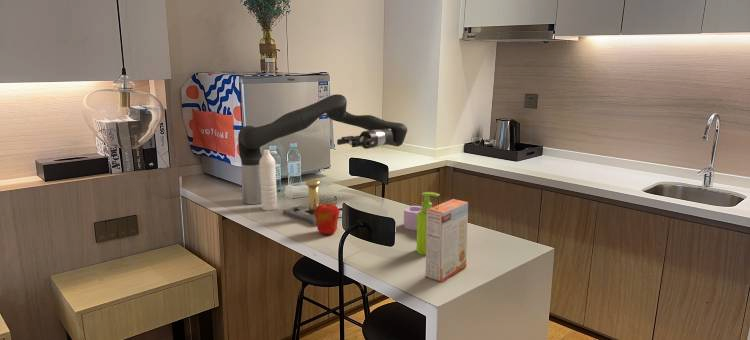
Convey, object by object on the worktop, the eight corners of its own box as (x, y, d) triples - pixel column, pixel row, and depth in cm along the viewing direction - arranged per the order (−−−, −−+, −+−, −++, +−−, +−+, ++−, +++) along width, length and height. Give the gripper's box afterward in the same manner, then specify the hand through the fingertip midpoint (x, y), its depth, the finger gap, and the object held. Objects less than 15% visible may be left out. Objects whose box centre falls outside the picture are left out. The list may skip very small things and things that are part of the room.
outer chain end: (297, 218, 199) (296, 209, 198) (314, 213, 205) (314, 204, 204) (318, 226, 190) (318, 217, 189) (336, 220, 197) (336, 211, 196)
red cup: (310, 234, 181) (310, 203, 179) (323, 227, 189) (323, 197, 186) (331, 238, 177) (330, 206, 175) (343, 231, 185) (343, 200, 182)
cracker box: (450, 262, 157) (452, 197, 153) (466, 267, 153) (469, 201, 149) (423, 276, 147) (425, 208, 142) (441, 283, 143) (443, 212, 138)
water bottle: (258, 208, 212) (255, 150, 206) (270, 205, 216) (267, 147, 211) (272, 212, 206) (269, 152, 201) (284, 208, 211) (281, 150, 206)
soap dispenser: (436, 255, 163) (438, 195, 158) (415, 253, 164) (416, 194, 159) (438, 248, 168) (440, 191, 164) (417, 247, 169) (418, 189, 165)
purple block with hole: (397, 229, 188) (397, 211, 186) (415, 220, 197) (416, 203, 196) (443, 241, 176) (444, 222, 174) (461, 231, 185) (462, 213, 184)
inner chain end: (283, 213, 205) (283, 208, 204) (300, 208, 211) (300, 204, 211) (313, 224, 192) (313, 219, 192) (331, 218, 199) (330, 213, 198)
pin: (304, 218, 199) (302, 181, 195) (315, 215, 203) (314, 178, 199) (313, 221, 195) (312, 183, 192) (324, 218, 199) (323, 181, 196)
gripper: (360, 128, 220) (332, 132, 208) (384, 131, 210) (357, 136, 199) (360, 145, 222) (333, 150, 210) (384, 149, 212) (357, 154, 201)
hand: (344, 143), depth 205 cm, fingers open, 8 cm apart
